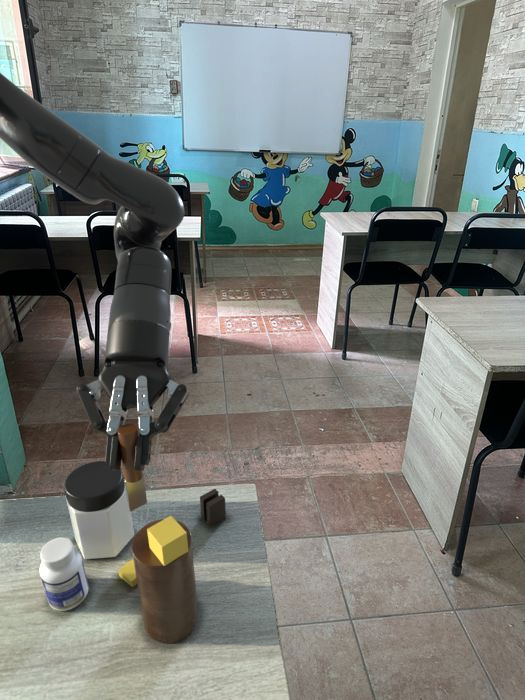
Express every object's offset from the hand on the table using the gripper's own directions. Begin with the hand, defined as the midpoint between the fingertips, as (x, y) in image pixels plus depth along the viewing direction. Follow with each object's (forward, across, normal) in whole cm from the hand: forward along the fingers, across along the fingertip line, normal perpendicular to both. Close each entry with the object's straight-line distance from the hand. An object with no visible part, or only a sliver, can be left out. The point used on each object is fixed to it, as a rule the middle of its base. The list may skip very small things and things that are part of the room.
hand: (127, 469), depth 55 cm
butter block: (+9, +5, +4) cm, 11 cm away
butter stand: (+18, +4, +15) cm, 23 cm away
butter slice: (+12, -4, +20) cm, 23 cm away
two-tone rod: (+4, 0, +7) cm, 8 cm away
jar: (+9, -9, +24) cm, 27 cm away
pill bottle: (+16, -11, +17) cm, 26 cm away
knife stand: (+6, +8, +27) cm, 29 cm away
